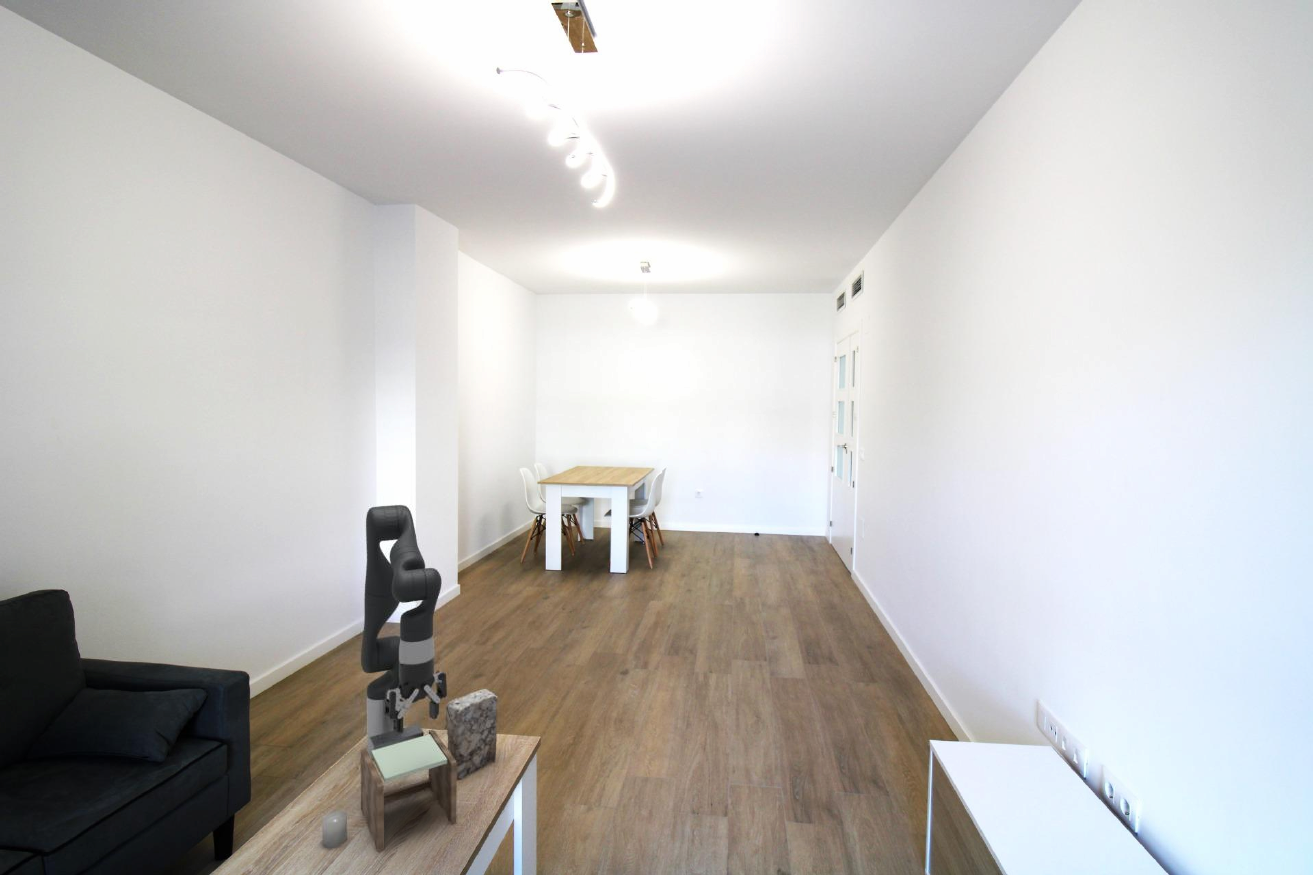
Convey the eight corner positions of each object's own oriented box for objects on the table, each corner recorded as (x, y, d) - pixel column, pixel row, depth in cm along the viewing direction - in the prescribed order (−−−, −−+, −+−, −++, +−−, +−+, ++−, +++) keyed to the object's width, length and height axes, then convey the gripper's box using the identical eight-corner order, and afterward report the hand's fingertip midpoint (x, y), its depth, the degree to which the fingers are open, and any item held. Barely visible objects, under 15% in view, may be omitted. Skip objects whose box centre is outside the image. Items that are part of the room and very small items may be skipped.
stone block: (460, 783, 166) (460, 709, 165) (444, 774, 170) (444, 702, 169) (499, 760, 177) (499, 691, 176) (483, 752, 181) (483, 685, 180)
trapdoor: (365, 749, 159) (365, 738, 159) (422, 733, 167) (422, 722, 167) (384, 791, 142) (384, 778, 142) (447, 771, 150) (447, 759, 150)
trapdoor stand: (361, 808, 155) (360, 749, 154) (433, 784, 165) (433, 729, 165) (378, 851, 140) (377, 786, 139) (456, 822, 150) (456, 761, 150)
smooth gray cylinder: (321, 838, 144) (320, 815, 144) (344, 830, 147) (344, 807, 147) (324, 851, 140) (324, 827, 140) (349, 842, 143) (348, 819, 143)
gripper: (435, 642, 151) (434, 708, 152) (378, 661, 140) (378, 731, 140) (453, 650, 146) (453, 718, 147) (396, 670, 135) (396, 743, 136)
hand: (416, 725), depth 144 cm, fingers open, 8 cm apart
